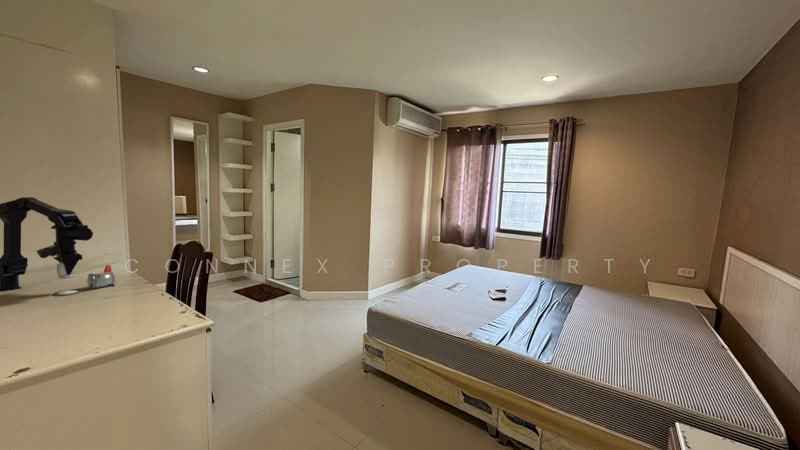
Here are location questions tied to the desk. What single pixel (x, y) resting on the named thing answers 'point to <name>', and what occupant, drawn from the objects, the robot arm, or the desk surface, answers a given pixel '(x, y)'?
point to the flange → (67, 292)
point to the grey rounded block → (101, 280)
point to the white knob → (63, 272)
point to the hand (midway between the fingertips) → (66, 273)
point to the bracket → (107, 268)
